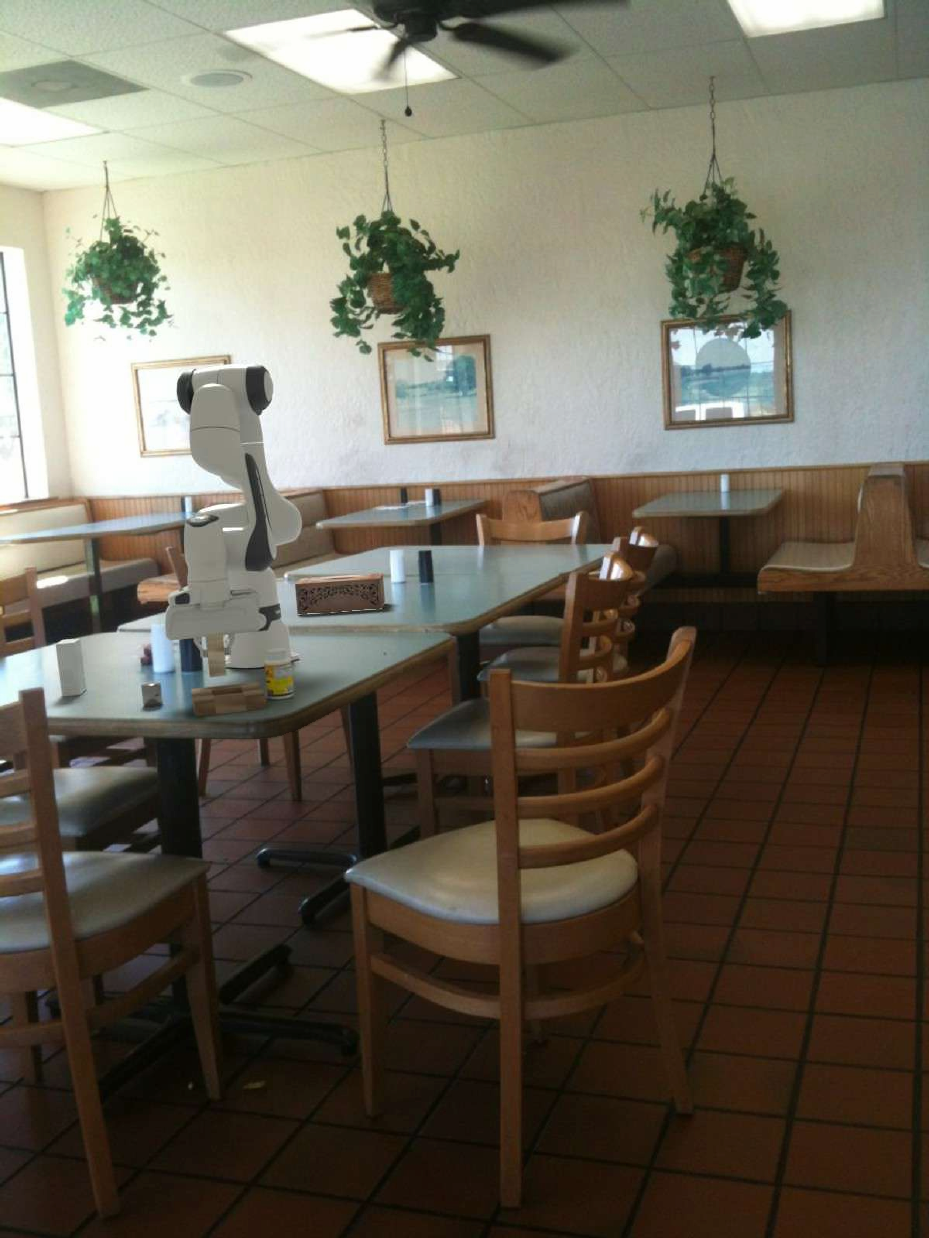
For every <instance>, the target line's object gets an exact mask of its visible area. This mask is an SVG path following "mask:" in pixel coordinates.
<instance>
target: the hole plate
mask: <svg viewBox="0 0 929 1238" xmlns="http://www.w3.org/2000/svg"><path fill="white" fill-rule="evenodd" d="M190 693H191V701H192V707H193V711H194V715H195V718H197V717H206V716H207V717H208V716H214V715H222V714H231V713H232V714H233V713H241V712H247V711H249V712H250V711H257V710H265V709H267V701H266V694H265V691H264V690H263V688H262V686H261V685H260V682H259V681H252V682H245V683H244V682H242V683H233V684H227V685H226V684H225V685H217V686H208V687H200V688H191V689H190Z"/></svg>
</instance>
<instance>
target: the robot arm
mask: <svg viewBox="0 0 929 1238" xmlns="http://www.w3.org/2000/svg"><path fill="white" fill-rule="evenodd" d="M273 394H274V383H273V379H272V377H271V374H270V371H269V370H268V369H267V368H266V367H265V365H261V364H257V363H248V364H223V365H219V366H211V367H207V368H201V369H196V368H193V369H189V370H186V371H184V372H182V373H181V375H180V376H179V377H178V378H177V382H176V397H177V401H178V404H179V407H180V408H181V410H182V411H184V412H185V413H186V414H187V415H189V431H188V432H189V435H188V437H189V449H190V454H191V455H190V456H191V458H192V459H193V461H194V462H195V463H196V464H197V466H199V468H201V469H202V470H204V471H206V472H207V473H209V474H213V475H215V476H218V477H220V479H221V480H222V481H223V482H224V483H225V484H226V485H228V486H230V487H233V488H234V489H237V490H240V491H242V493H243V498H244V502H236V503H235V502H234V503H222V504H215V505H211V506H209V507H204V508H202V509H199V510H198V511H197V513H196V514H195V516H193V517H190V518H188V520H186V521H185V522H184V528H183V529H184V530H183V533H184V535H183V548H184V549H183V551H184V560H185V564H186V566H187V577H186V581H187V585H186V586H184V587H182V588H179V589H177V590H174V591H172V592H170V593H169V594H168V596H167V602H168V604H169V605H168V606H167V608H166V610H165V617H164V634H165V637H166V639H168V640H169V641H178V640H179V641H180V640H186V639H189V640H190V639H193V642H194V644H195V646H196V647H197V648H198V650H199V652H200V658H202V659H203V658H208V654H207V653H208V651H207V647H206V648H203V646H202V645H201V644H200V643H201V642H202V640H201V638H206V635H207V634H217V633H223V636H225V637H224V651H225V662H226V668H235V669H236V668H237V669H249V668H250V669H251V668H252V669H256V668H263V667H264V668H265V666H264V661H265V660H266V659H268V657H267V650H269V649H273V648H285V649H286V653H287V656H286V657H289V658H290V659H291V661H295V660H299V659H300V655H299V654H298V653H296V652H293V651H292V646H291V639H290V637H291V636H290V629H289V626H288V625H286V623H284V622H283V620H282V619H281V618H282V607H281V604H280V603H279V600H278V598H279V597H278V590H277V589H278V587H277V576H276V573H275V571H274V570H273V568H271V567H270V566H272V565H273V563H274V562H275V561H276V559H277V547H279V546H282V545H286V544H289V543H292V542H295V541H296V540H297V538H298V537H299V536H300V534H301V531H302V527H303V519H302V516H301V515H302V514H301V512H300V510H299V509H298V507H297V506H296V505H295V504H294V503H293V502H291V501H290V500H288V499H287V498H286V497H284V496H283V495H282V494H281V493H280V492H279V491H278V489H276V487H275V485H274V484H273V482H272V480H271V478H270V475H269V471H268V467H267V461H266V456H265V455H266V454H265V445H264V444H265V443H264V436H263V430H262V425H261V420H260V419H261V418H260V416H261V415H262V413H263V411H265V410H266V409H267V408H269V406H270V404H271V403H272V400H273Z"/></svg>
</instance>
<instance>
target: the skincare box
mask: <svg viewBox="0 0 929 1238" xmlns="http://www.w3.org/2000/svg"><path fill="white" fill-rule="evenodd" d="M81 642H82V641H81V638H71V639H70V638H67V639H62V640H60V641H58V642H57V643H56V644H55V651H56V659H57V667H58V674H59V681H60V682H59V683H60V690H61V696H62V697H72V696H73V697H74V696H80V695H82V694H83V693H84V692H85V691H86V690H87V683H86V676H85V667H84V660H83V652H82V651H83V650H82V643H81Z"/></svg>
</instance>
